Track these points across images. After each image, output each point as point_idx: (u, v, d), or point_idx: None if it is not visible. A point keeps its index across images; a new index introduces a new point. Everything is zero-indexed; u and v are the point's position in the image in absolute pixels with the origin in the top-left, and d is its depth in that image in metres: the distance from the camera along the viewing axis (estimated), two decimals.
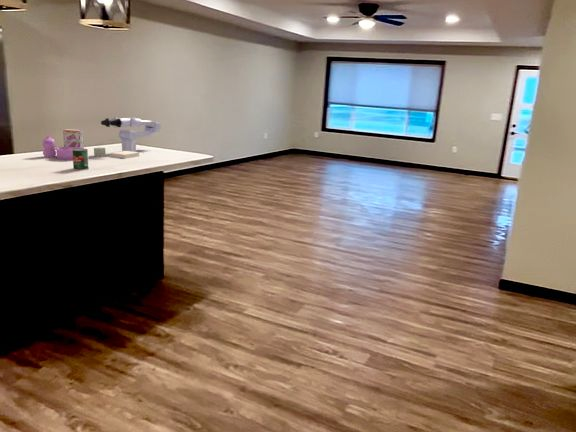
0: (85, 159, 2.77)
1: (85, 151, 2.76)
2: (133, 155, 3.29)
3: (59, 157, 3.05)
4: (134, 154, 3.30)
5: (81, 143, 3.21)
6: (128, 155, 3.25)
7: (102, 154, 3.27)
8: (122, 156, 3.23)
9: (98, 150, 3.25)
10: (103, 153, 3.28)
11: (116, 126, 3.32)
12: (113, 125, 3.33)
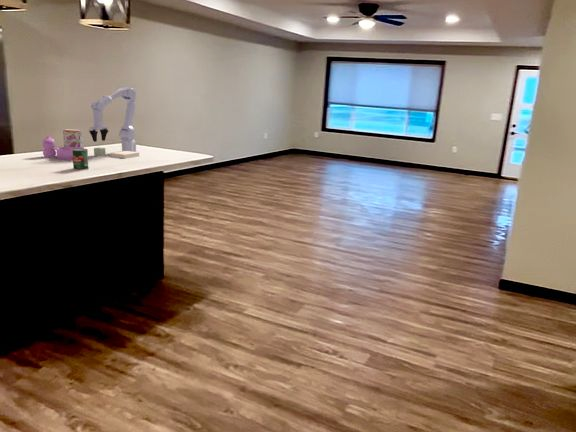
0: (85, 159, 2.77)
1: (85, 151, 2.76)
2: (133, 155, 3.29)
3: (59, 157, 3.05)
4: (134, 154, 3.30)
5: (81, 143, 3.21)
6: (128, 155, 3.25)
7: (102, 154, 3.27)
8: (122, 156, 3.23)
9: (98, 150, 3.25)
10: (103, 153, 3.28)
11: (100, 128, 3.22)
12: (102, 128, 3.25)
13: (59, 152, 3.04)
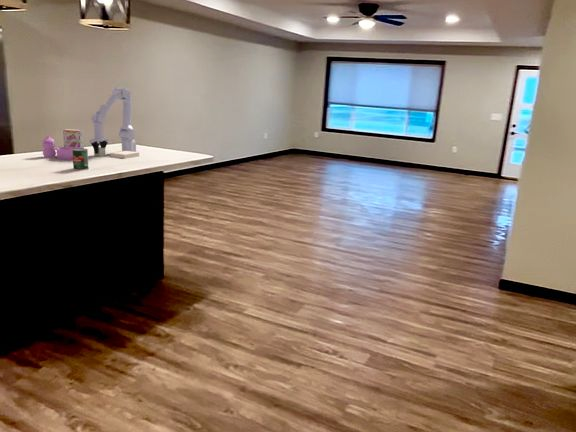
0: (85, 159, 2.77)
1: (85, 151, 2.76)
2: (133, 155, 3.29)
3: (59, 157, 3.05)
4: (134, 154, 3.30)
5: (81, 143, 3.21)
6: (128, 155, 3.25)
7: (102, 154, 3.27)
8: (122, 156, 3.23)
9: None
10: (103, 153, 3.28)
11: (101, 140, 3.24)
12: None
13: (59, 152, 3.04)
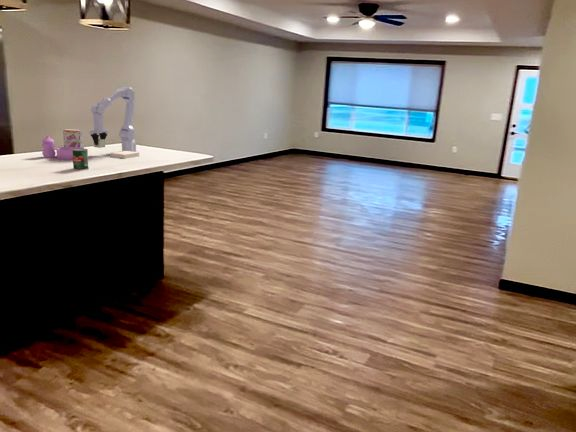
0: (85, 159, 2.77)
1: (85, 151, 2.76)
2: (133, 155, 3.29)
3: (60, 157, 3.04)
4: (134, 154, 3.30)
5: (81, 143, 3.21)
6: (128, 155, 3.25)
7: (102, 145, 3.26)
8: (122, 156, 3.23)
9: (98, 141, 3.24)
10: (103, 144, 3.27)
11: (100, 132, 3.23)
12: (102, 131, 3.26)
13: (59, 152, 3.03)
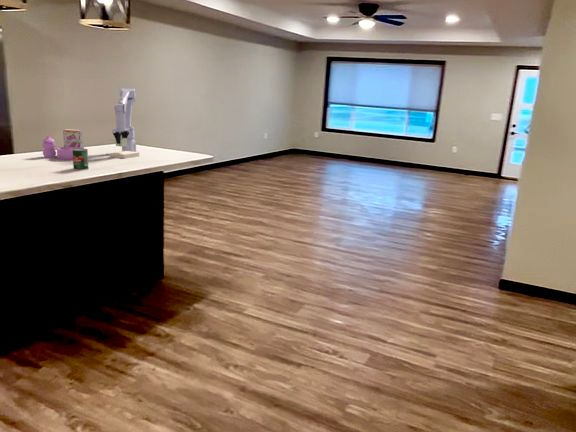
0: (85, 159, 2.77)
1: (85, 151, 2.76)
2: (133, 155, 3.29)
3: (60, 157, 3.04)
4: (134, 154, 3.30)
5: (81, 143, 3.21)
6: (128, 155, 3.25)
7: (123, 144, 3.27)
8: (122, 156, 3.23)
9: (120, 140, 3.25)
10: (124, 143, 3.28)
11: (122, 130, 3.24)
12: (124, 130, 3.27)
13: (60, 152, 3.04)
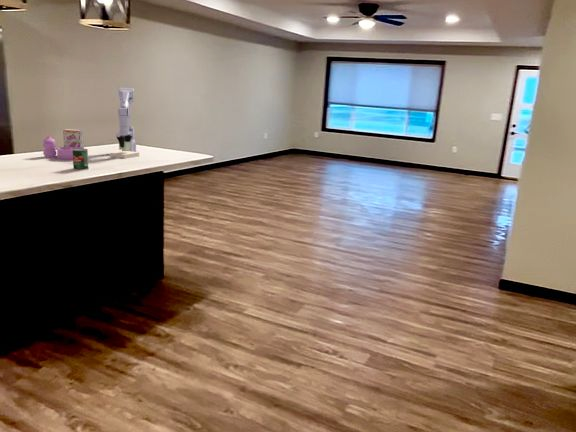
0: (85, 159, 2.77)
1: (85, 151, 2.76)
2: (133, 155, 3.29)
3: (60, 157, 3.05)
4: (134, 154, 3.30)
5: (81, 143, 3.21)
6: (128, 155, 3.25)
7: (127, 148, 3.28)
8: (122, 156, 3.23)
9: (124, 144, 3.26)
10: (128, 147, 3.29)
11: (126, 134, 3.25)
12: None
13: (60, 152, 3.04)
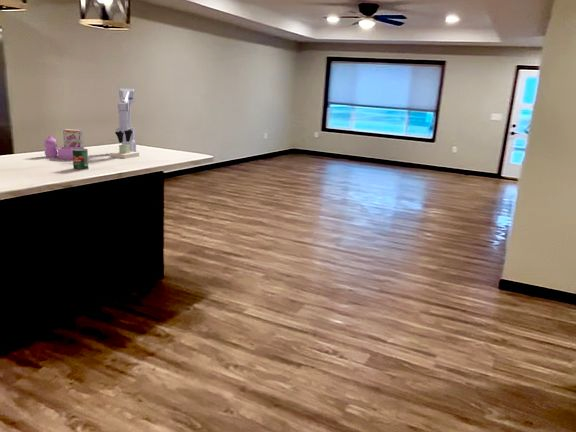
0: (85, 159, 2.77)
1: (85, 151, 2.76)
2: (133, 155, 3.29)
3: (60, 157, 3.05)
4: (134, 154, 3.30)
5: (81, 143, 3.21)
6: (128, 155, 3.25)
7: (127, 151, 3.29)
8: (122, 156, 3.23)
9: (124, 147, 3.27)
10: (128, 150, 3.30)
11: (126, 129, 3.25)
12: None
13: (60, 152, 3.04)
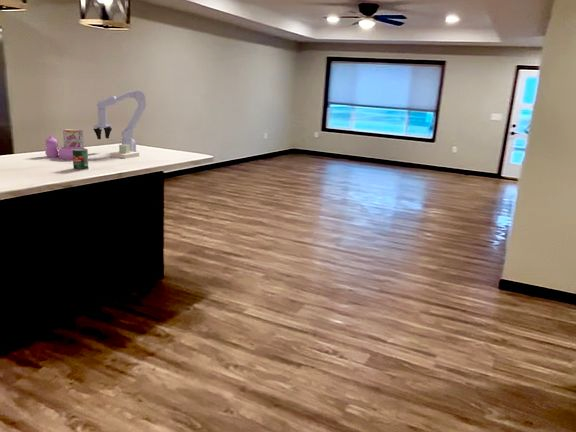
0: (85, 159, 2.77)
1: (85, 151, 2.76)
2: (133, 155, 3.29)
3: (61, 157, 3.05)
4: (134, 154, 3.30)
5: (81, 143, 3.21)
6: (128, 155, 3.25)
7: (127, 151, 3.29)
8: (122, 156, 3.23)
9: (124, 147, 3.27)
10: (128, 150, 3.30)
11: (104, 126, 3.35)
12: (106, 126, 3.37)
13: (61, 152, 3.05)
